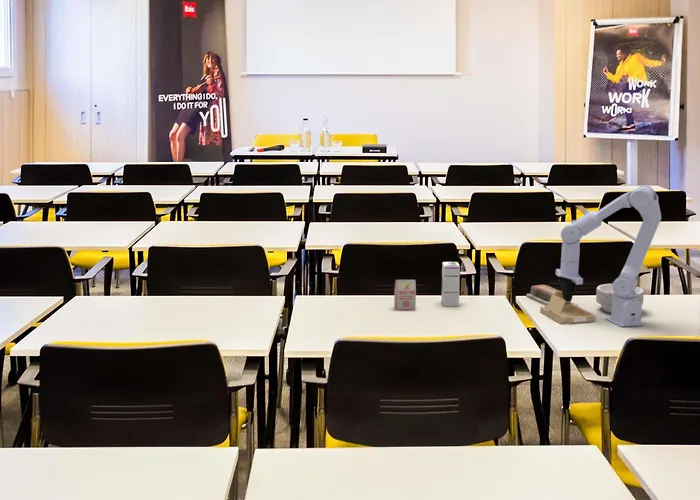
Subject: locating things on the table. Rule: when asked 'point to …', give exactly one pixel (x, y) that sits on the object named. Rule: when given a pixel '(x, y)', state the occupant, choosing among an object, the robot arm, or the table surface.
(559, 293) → the far flap
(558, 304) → the left flap
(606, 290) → the paper bowls
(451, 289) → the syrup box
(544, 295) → the packaged product
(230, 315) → the table surface
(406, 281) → the white food box
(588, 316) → the carton
